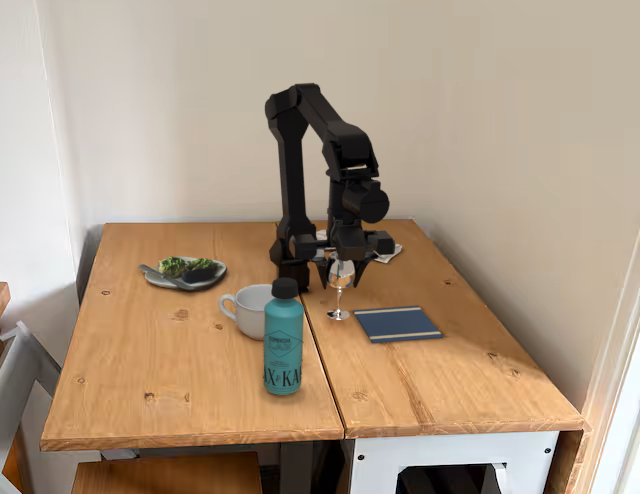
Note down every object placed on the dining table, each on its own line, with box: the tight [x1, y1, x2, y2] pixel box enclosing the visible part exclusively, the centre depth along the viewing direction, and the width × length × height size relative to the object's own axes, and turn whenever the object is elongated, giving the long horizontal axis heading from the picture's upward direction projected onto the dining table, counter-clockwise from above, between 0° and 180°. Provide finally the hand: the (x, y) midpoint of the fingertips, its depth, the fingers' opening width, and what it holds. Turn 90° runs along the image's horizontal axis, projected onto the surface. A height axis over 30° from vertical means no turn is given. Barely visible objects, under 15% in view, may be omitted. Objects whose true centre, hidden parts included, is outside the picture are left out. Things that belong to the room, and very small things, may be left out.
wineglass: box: [326, 250, 356, 321], centre depth 135 cm, size 6×6×12 cm
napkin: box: [352, 305, 444, 344], centre depth 141 cm, size 14×14×1 cm
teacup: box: [217, 283, 275, 341], centre depth 136 cm, size 14×11×8 cm
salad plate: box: [137, 255, 228, 293], centre depth 159 cm, size 19×18×5 cm
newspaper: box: [316, 229, 403, 264], centre depth 177 cm, size 23×12×2 cm, turn 58°
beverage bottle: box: [262, 278, 305, 396], centre depth 113 cm, size 6×7×20 cm
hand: (339, 288), depth 135 cm, fingers closed on wineglass, 5 cm apart
